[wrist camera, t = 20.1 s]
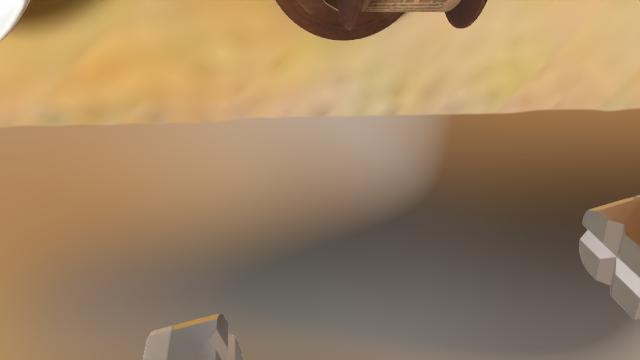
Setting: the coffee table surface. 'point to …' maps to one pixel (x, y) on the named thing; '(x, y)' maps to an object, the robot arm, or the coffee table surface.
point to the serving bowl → (10, 15)
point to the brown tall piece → (371, 14)
